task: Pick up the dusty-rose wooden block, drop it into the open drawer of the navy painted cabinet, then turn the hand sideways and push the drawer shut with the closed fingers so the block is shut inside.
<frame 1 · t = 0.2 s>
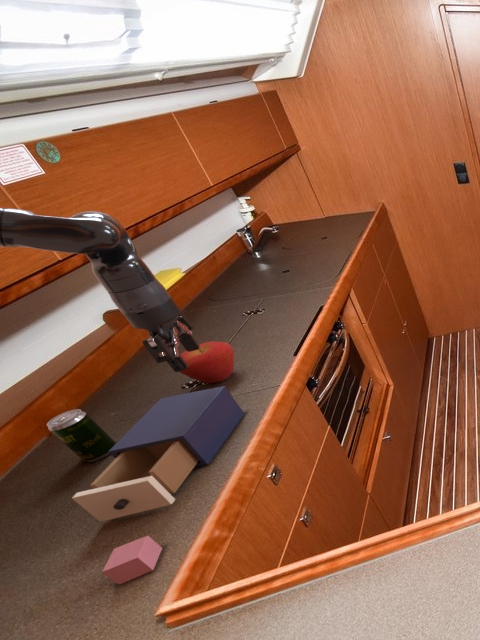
hand: (188, 359, 96), 19 cm above the table, tool pointing down, fingers open, 8 cm apart
beer can: (102, 453, 96), on the table
drawer: (148, 472, 85), point 5 cm above the table, slide at 9.0 cm
block: (141, 565, 74), on the table
cabinet: (195, 444, 97), on the table
apple: (221, 379, 117), on the table
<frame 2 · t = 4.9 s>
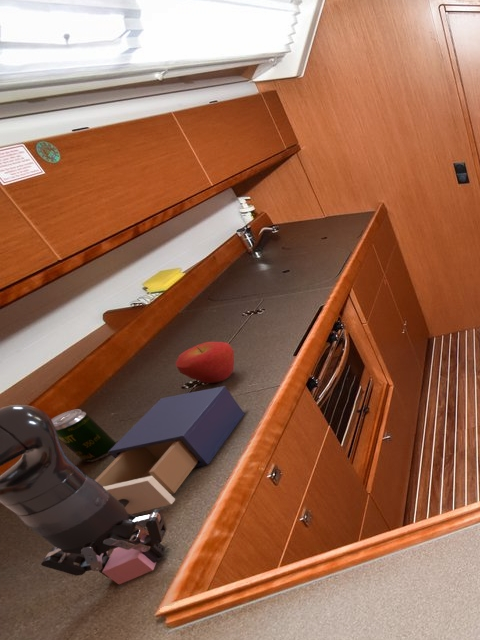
hand: (140, 565, 74), 0 cm above the table, tool pointing down, fingers closed on block, 4 cm apart
block: (141, 565, 74), on the table, touching gripper
everything else where it was.
when the fingers open (9 cm above the table, at t = 10.9 s): block drops 7 cm, resting on drawer.
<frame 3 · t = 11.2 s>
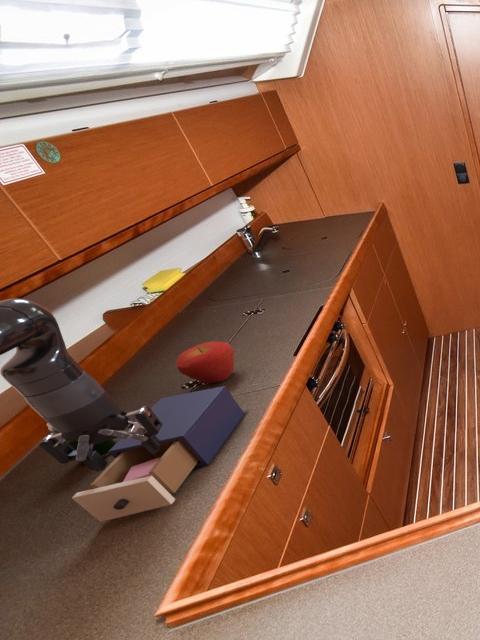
hand: (130, 458, 82), 10 cm above the table, tool pointing down, fingers open, 7 cm apart
drawer: (148, 472, 85), point 5 cm above the table, slide at 9.0 cm, touching block
block: (154, 482, 86), point 2 cm above the table, touching drawer
everything else where it was.
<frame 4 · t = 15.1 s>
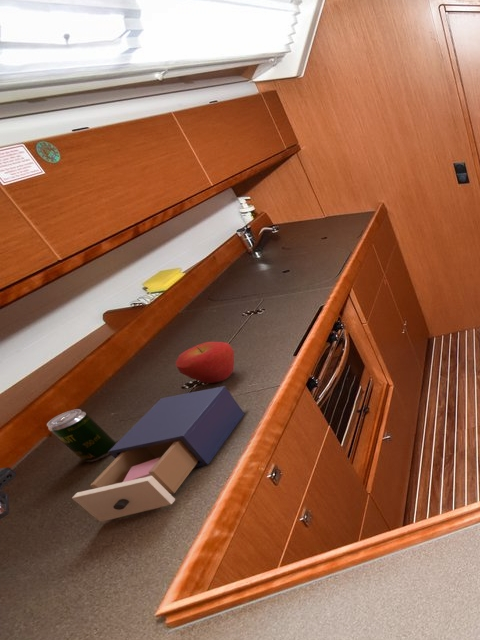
hand: (6, 471, 66), 22 cm above the table, tool horizontal, fingers closed
nothing on the table moved.
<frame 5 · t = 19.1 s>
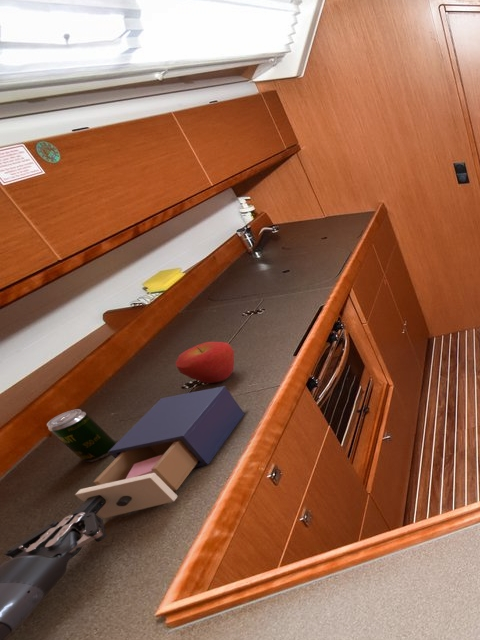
hand: (98, 498, 79), 7 cm above the table, tool horizontal, fingers closed
drawer: (150, 469, 86), point 5 cm above the table, slide at 8.3 cm, touching block, gripper
everything else where it was.
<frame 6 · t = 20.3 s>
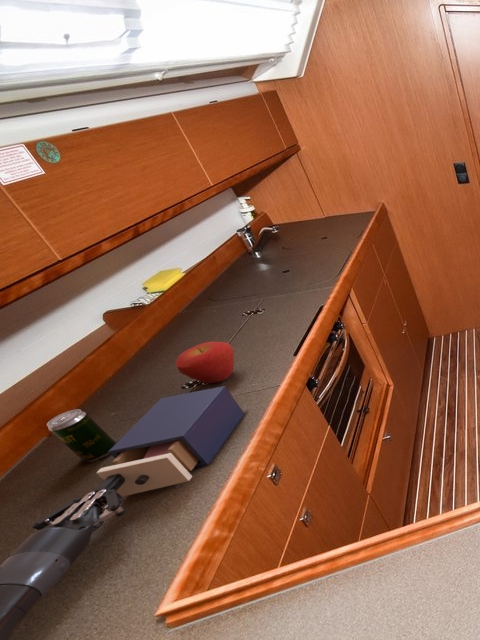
hand: (117, 477, 83), 7 cm above the table, tool horizontal, fingers closed
drawer: (166, 451, 90), point 5 cm above the table, slide at 3.5 cm, touching block, gripper
block: (172, 461, 91), point 2 cm above the table, touching drawer
everything else where it was.
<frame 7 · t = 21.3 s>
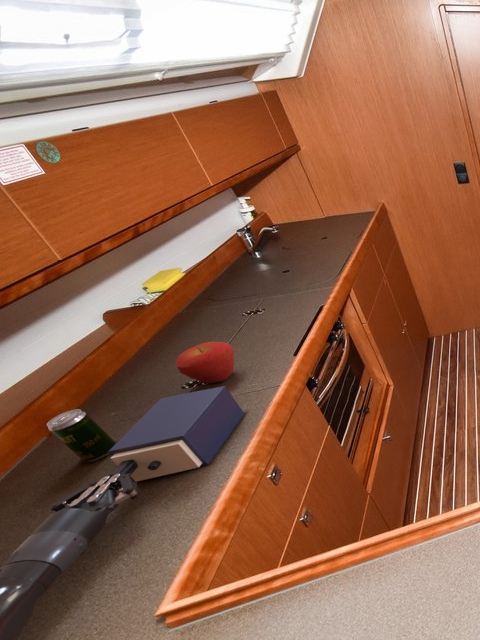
hand: (130, 462, 86), 7 cm above the table, tool horizontal, fingers closed
drawer: (177, 438, 93), point 5 cm above the table, slide at 0.0 cm, touching block, cabinet, gripper
block: (182, 448, 94), point 2 cm above the table, touching drawer
everything else where it was.
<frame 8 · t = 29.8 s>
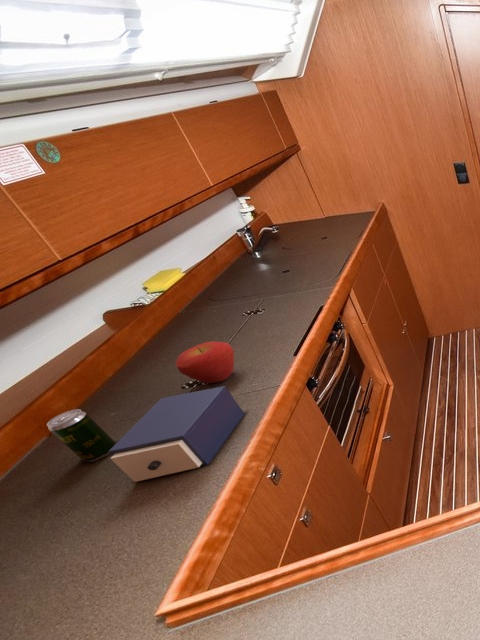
drawer: (177, 438, 93), point 5 cm above the table, slide at 0.0 cm, touching block
everything else where it was.
at the end: block inside the target area in the cabinet (3.0 cm from its centre), point 2.1 cm above the cabinet's base; drawer slide at 0.0 cm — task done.
